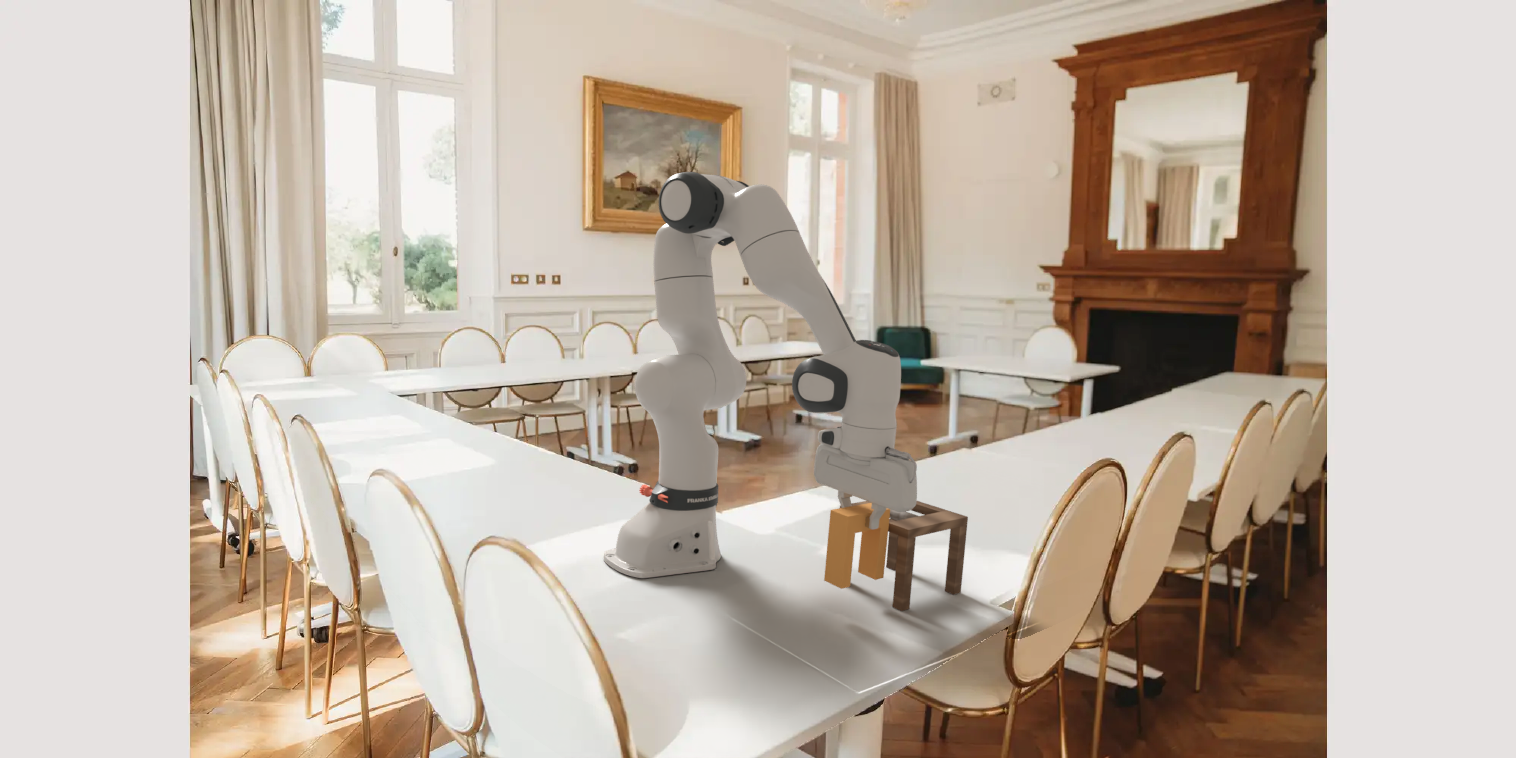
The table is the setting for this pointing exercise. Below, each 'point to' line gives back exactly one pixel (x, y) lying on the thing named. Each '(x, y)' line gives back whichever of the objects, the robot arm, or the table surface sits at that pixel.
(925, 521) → the brown stool
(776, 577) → the table surface
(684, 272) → the robot arm
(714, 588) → the table surface
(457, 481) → the table surface
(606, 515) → the table surface
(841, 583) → the orange arch brick
